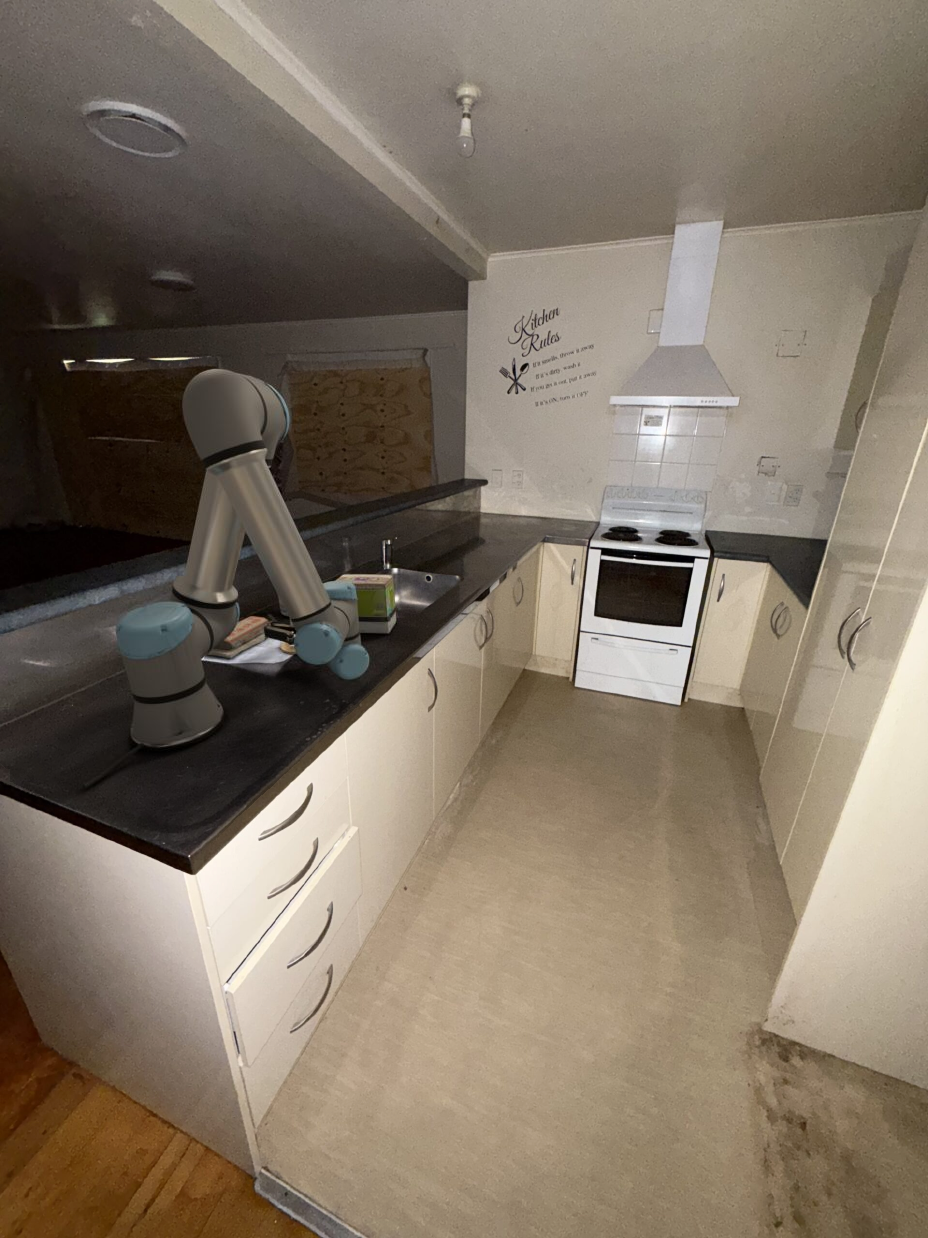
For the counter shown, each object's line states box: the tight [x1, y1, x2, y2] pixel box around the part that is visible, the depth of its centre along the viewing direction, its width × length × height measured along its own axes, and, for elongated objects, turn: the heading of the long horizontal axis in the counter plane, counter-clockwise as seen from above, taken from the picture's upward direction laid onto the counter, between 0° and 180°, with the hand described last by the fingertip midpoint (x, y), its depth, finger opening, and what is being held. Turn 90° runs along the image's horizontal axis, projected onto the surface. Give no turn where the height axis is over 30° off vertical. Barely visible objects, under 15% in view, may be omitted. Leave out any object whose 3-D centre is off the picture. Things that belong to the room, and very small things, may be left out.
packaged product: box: [207, 615, 268, 659], centre depth 128 cm, size 18×5×10 cm
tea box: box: [335, 573, 397, 634], centre depth 137 cm, size 15×10×15 cm, turn 84°
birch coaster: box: [280, 641, 297, 655], centre depth 128 cm, size 11×11×1 cm
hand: (296, 613), depth 125 cm, fingers open, 13 cm apart
